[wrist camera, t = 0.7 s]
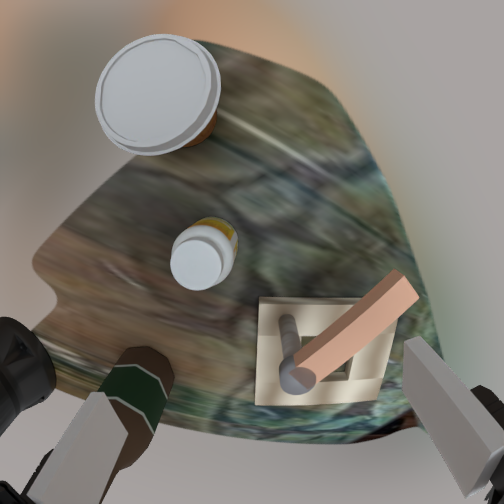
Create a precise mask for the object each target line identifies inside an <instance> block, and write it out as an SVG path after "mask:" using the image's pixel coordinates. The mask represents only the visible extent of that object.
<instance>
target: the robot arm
mask: <svg viewBox="0 0 504 504" xmlns="http://www.w3.org/2000/svg"><path fill="white" fill-rule="evenodd" d="M55 385H56V376H55V371H54V368H53V365H52V362H51V360H50V358H49V356H48V354H47V352H46V351H45V349H44V347H43V346H42V345H41V343H40V342H39V340H38V339H37V338H36V337H35V336H34V334H33V333H32V332H31V331H30V330H29V329H27V328H26V327H25V326H24V325H23V324H21V323H20V322H18V321H17V320H15V319H13V318H10V317H0V436H1V435H2V434H3V433H4V432H5V430H6V429H7V428H8V427H9V425H10V424H11V423H12V422H13V421H14V419H15V418H16V417H17V416H18V415H19V413H20V412H22V411H24V410H25V409H28V408H30V407H32V406H34V405H36V404H38V403H41V402H43V401H44V400H46V399H47V398H48V397H49V395H50V394H51V393H52V392H53V390H54V389H55ZM402 391H403V393H404V395H405V396H406V398H407V399H408V401H409V403H410V404H411V406H412V407H413V409H414V411H415V412H416V414H417V416H418V417H419V419H420V420H421V422H422V424H423V425H424V427H425V429H426V430H427V432H428V434H429V435H430V437H431V439H432V440H433V442H434V444H435V445H436V447H437V449H438V451H439V452H440V454H441V456H442V458H443V459H444V461H445V463H446V464H447V466H448V468H449V470H450V472H451V473H452V475H453V477H454V479H455V480H456V482H457V484H458V486H459V488H460V489H461V491H462V493H463V495H464V496H465V499H467V498H468V497H470V496H472V495H474V494H475V493H477V492H479V491H480V490H482V489H484V488H485V486H486V485H487V483H488V481H489V480H490V481H491V483H492V484H493V487H492V488H491V490H490V491H489V493H488V494H487V496H486V498H485V500H487V499H488V498H489V500H488V504H504V404H503V403H502V401H501V400H500V401H499V398H498V397H497V396H496V395H495V394H494V393H493V392H492V391H491V390H490V389H487V388H485V387H483V386H481V385H479V386H477V387H475V388H473V389H471V390H469V389H468V388H467V387H466V385H465V384H464V383H463V382H462V381H461V380H460V379H459V378H458V376H457V375H456V374H455V373H454V372H453V371H452V370H451V369H450V368H449V366H448V365H447V364H446V363H445V362H444V361H443V360H442V359H441V358H440V357H439V356H438V354H437V353H436V352H435V351H434V350H433V349H432V348H431V347H430V346H429V345H428V344H427V343H426V342H425V341H424V340H423V339H422V338H421V336H418V337H415V338H412V339H409V340H406V341H404V362H403V381H402ZM127 435H128V432H127V431H126V429H125V427H124V426H123V424H122V423H121V421H120V419H119V418H118V416H117V414H116V412H115V411H114V409H113V407H112V406H111V404H110V402H109V400H108V398H107V397H106V395H105V393H104V392H91V393H90V395H89V396H88V398H87V399H86V401H85V402H84V404H83V405H82V407H81V408H80V410H79V411H78V413H77V414H76V416H75V417H74V419H73V420H72V422H71V423H70V425H69V427H68V428H67V430H66V431H65V433H64V434H63V436H62V438H61V439H60V441H59V442H58V444H57V445H56V447H55V448H54V449H52V450H51V451H49V452H48V453H47V454H46V455H45V456H44V457H43V459H42V460H41V462H40V465H39V466H38V467H37V469H36V472H34V473H33V475H32V477H31V478H30V480H29V482H28V483H27V485H26V486H25V488H24V490H23V491H22V493H21V494H20V495H19V494H18V493H17V492H16V491H15V490H14V489H13V488H12V487H11V486H10V484H8V483H7V482H6V481H0V504H99V502H100V499H101V497H102V494H103V492H104V489H105V487H106V485H107V482H108V480H109V477H110V475H111V473H112V470H113V468H114V466H115V463H116V461H117V458H118V456H119V454H120V452H121V449H122V447H123V445H124V442H125V440H126V438H127Z"/></svg>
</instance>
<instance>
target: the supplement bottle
mask: <svg viewBox="0 0 504 504" xmlns="http://www.w3.org/2000/svg"><path fill="white" fill-rule="evenodd" d="M237 250H238V236H237V233H236V231H235V230H234V228H233V227H232V226H231V224H229V223H228V222H227V221H225V220H223V219H221V218H217V217H207V218H203V219H201V220H199V221H197V222H196V223H194V224H193V225H192V226H190V227H189V228H187V229H186V230H184V231H183V232H182V233H181V234H180V235H179V236H178V237H177V239H176V240H175V242H174V244H173V248H172V256H171V261H170V266H171V271H172V274H173V276H174V278H175V279H176V280H177V282H178V283H179V284H181V285H182V286H183V287H185V288H187V289H190V290H204V289H207V288H209V287H211V286H214V285H216V284H218V283H220V282H221V281H223V280H224V279H225V278H226V277H227V276H228V274H229V273H230V271H231V269H232V266H233V263H234V260H235V257H236V254H237Z"/></svg>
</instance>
